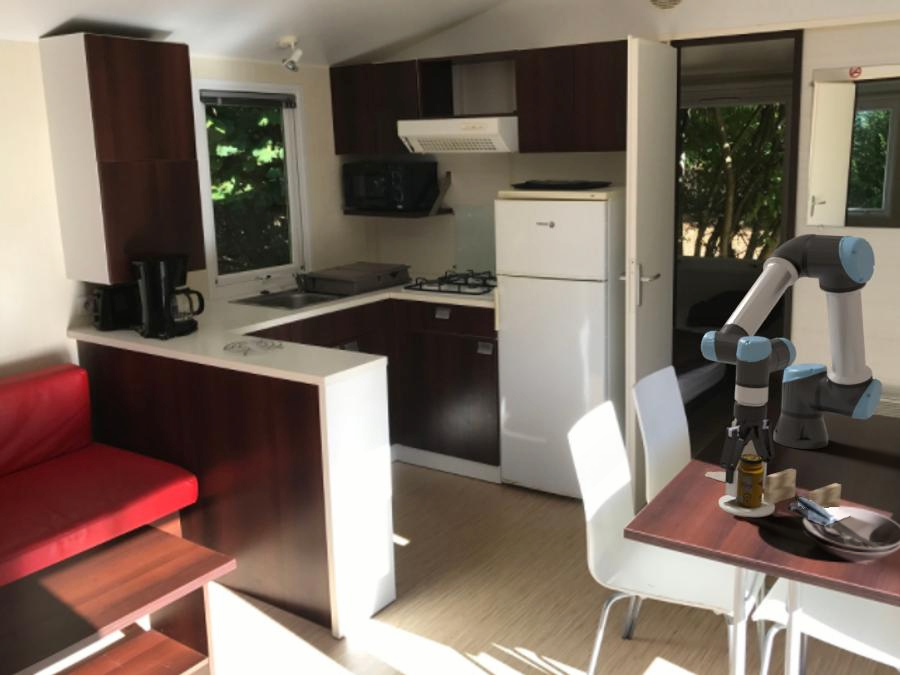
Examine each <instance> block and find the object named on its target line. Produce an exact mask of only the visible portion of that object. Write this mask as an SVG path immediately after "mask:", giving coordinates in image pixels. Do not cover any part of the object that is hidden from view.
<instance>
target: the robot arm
mask: <svg viewBox="0 0 900 675" xmlns="http://www.w3.org/2000/svg"><path fill="white" fill-rule="evenodd" d="M874 253H875V252H874V249H873V247H872V245H871V244H870V242H869V241H868V240H866V239H865V238H864V237H859V236H858V237H857V236H852V235H829V234H828V235H827V234H815V233H808V234H807V233H806V234H802V235H798V236H795V237H793V238H791V239H789V240H787V241H786V242H784V243H783V244H781V245H780V246H778V247H777V248H776V249H775V250H774V251H773V252H772V253H771V254H770V255H769V256H768V257H767V258H766V260H765V261H764V263H763V267H762V269H763V271H762V272H761V274H760V275H759V276H758V278H757V279H756V281H754V283H753V285H752V286H751V288H750V289H749V290H748V292H747V293H746V295H745V296H744V297H743V299H742V300H741V301H740V303H739V304H738V305H737V307H736V308H735V310H734V311H733V312H732V314H731V315H730V317H729V318H728V319H727V321H726V322H725V324H724V325H723V326H722V328H720V330H719V331H718V330H710V331H708V332H706V333H705V334H704V336H703V337H702V340H701V344H700V349H701V353H702V356H703V358H705V359H706V360H709V361H713V362H717V363H724V364H730V365H735V366H736V367H735V368H736V369H735V389H734V400H735V401H734V404H733V416H734V419H735V418H736V420H737V422H736V425H735V427H733V428H732V427H730V426H727V427H726V429H725V439H724V440H725V441H724V444H723V447H722V448H723V449H722V453H721V456H720V457H721V458H720V461H719V465H718V467H720V468H721V469H723V470H725V472H726V477H725V481H726V482H725V495H730V496H732V497H737V482H738V471H737V470H736V467H737V465H738V462H739V460H740V457H741V455H742V452H743V450H744V447H745V446H746V445H748V442H749V441H751V440H752V442H753V445H754V448H755V450H756V453H757V455H758V456H760V457H761V458H762V468H763V487H762V490H764V488H765V482H766V476H767V473H768V464H769V463H772V461H773V459H772V458H774V457H775V449H774V442H775V443H777V444H778V445H782V446H785V447H788V448H794V449H803V450H816V449H822V448H825V447H827V446H828V445H829V434H828V431H827V426H826V423H825V419H824V413H828V414H832V415H837V416H838V415H839V416H844V417H849V418H851V419H857V420H858V419H860V420H868V419H870V418H871V417H872V416H873V415H874V413H875V412H876V410H877V409H878V406H879V404H880V401H881V397H882V393H883V392H882V391H883V382H882V381H880V379H877V378H874V376H873V370H872V368H871V367H869V365H867V363H866V350H865V335H864V334H865V333H864V332H865V331H864V318H863V304H862V290H863V289H864V288H865V287H866V286H867V282H869V281H870V280H871V278H872V277H873V274H874V271H875V268H874V267H875V264H876V262H875V261H876V260H875V254H874ZM801 278H809V279H817V280H818V285H819V286H818V287H819V289H820V290H821V291H823V292H824V293H825V295H826V296H825V298H826V308H827V320H828V321H827V322H828V331H829V332H828V334H829V343H830V344H829V346H830V356H831V357H830V358H831V365H832V366H831V367H830V368H829V369H828V366H827V365H826V364H823V363H813V362H812V363H798V364H797V363H796V364H794V362H795V361H796V358H797V350H796V347H795V345H794V343H793V342H792V341H790V340H789V339H787V338H785V337H775V338H772V339H769V338H767V337H764V336H758V335H757V336H756V335H755V334H756V333H757V331H758V330H759V329H760V327H761V326H762V324H763V323H764V321H765V320H767V318H768V316H769V314H770V313H771V311H772V310H773V309H774V307H775V306H776V305H777V303H778V302H779V300H780V298H781V297H782V296H783V294H784V293H785V291H786V290H787V289H788V287H790V286H793V285H795V284H796V282H797V281H798V280H799V279H801ZM792 364H793V365H792ZM781 370H784V371H783V378H782V390H781V393H782V395H781V407H780V409H781V410H780V416H779V419H778V421H777V422H776V425H775V428H774V430H772V427H773V421H772V420H770V419H767V414H768V404H767V403H768V402H769V384H770V382H769V381H770V374H772V373H775V372H777V371H781ZM772 431H773V434H772ZM739 438H740V439H741V440H739ZM742 440H743V441H742Z"/></svg>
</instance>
